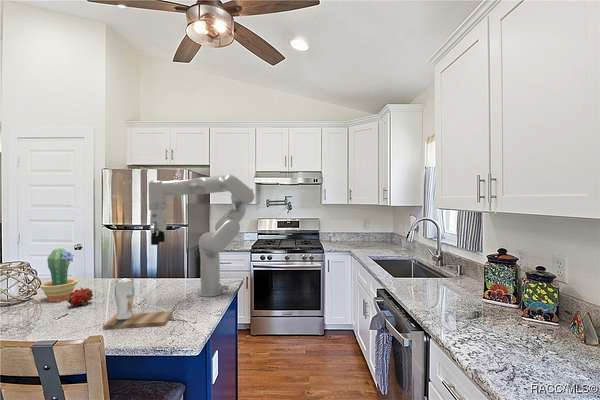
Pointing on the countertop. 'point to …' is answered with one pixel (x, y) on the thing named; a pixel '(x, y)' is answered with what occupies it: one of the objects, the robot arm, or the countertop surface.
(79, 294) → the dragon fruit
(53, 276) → the potted cactus
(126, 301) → the beer glass
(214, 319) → the countertop surface
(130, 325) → the oak board
